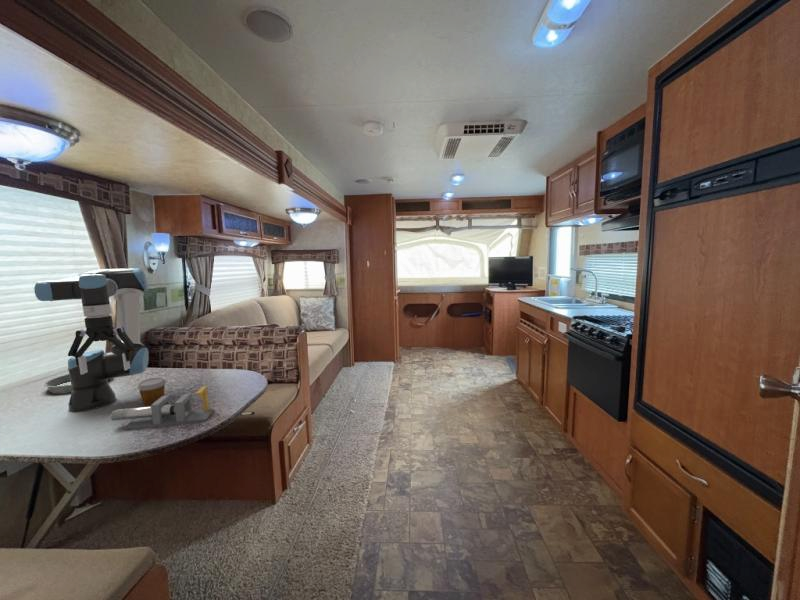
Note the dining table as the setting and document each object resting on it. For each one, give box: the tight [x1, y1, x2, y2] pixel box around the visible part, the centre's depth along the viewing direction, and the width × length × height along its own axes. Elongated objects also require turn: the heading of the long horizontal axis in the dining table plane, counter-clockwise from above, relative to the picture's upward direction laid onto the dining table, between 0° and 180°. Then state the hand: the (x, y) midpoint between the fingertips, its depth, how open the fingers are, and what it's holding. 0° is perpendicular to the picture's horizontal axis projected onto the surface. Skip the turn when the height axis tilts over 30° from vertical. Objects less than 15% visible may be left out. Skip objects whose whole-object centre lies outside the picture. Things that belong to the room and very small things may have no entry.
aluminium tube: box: [110, 403, 176, 422], centre depth 125 cm, size 22×4×4 cm, turn 101°
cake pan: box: [44, 373, 72, 394], centre depth 166 cm, size 25×25×4 cm
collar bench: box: [122, 385, 215, 431], centre depth 127 cm, size 28×9×11 cm, turn 101°
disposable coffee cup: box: [137, 377, 166, 407], centre depth 137 cm, size 10×10×12 cm
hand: (106, 371), depth 123 cm, fingers open, 13 cm apart
